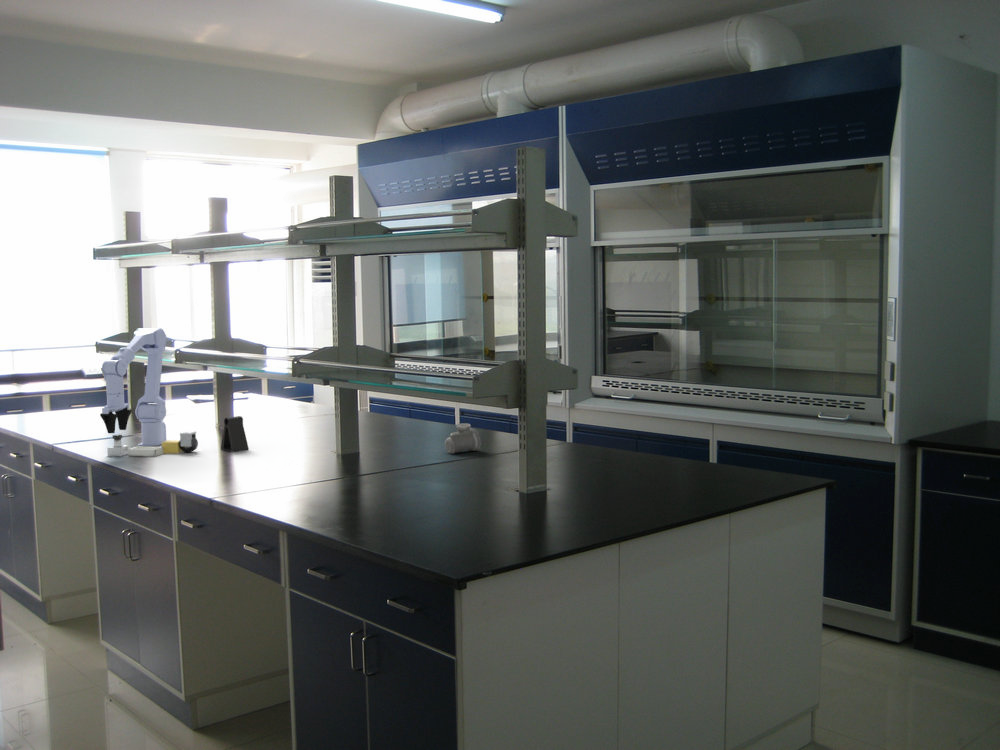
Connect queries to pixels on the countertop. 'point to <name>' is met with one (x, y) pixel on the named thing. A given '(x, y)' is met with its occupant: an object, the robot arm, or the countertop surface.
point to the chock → (171, 446)
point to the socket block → (118, 450)
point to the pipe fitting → (463, 439)
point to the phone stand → (234, 435)
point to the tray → (145, 451)
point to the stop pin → (117, 440)
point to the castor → (188, 441)
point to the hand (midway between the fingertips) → (117, 431)
